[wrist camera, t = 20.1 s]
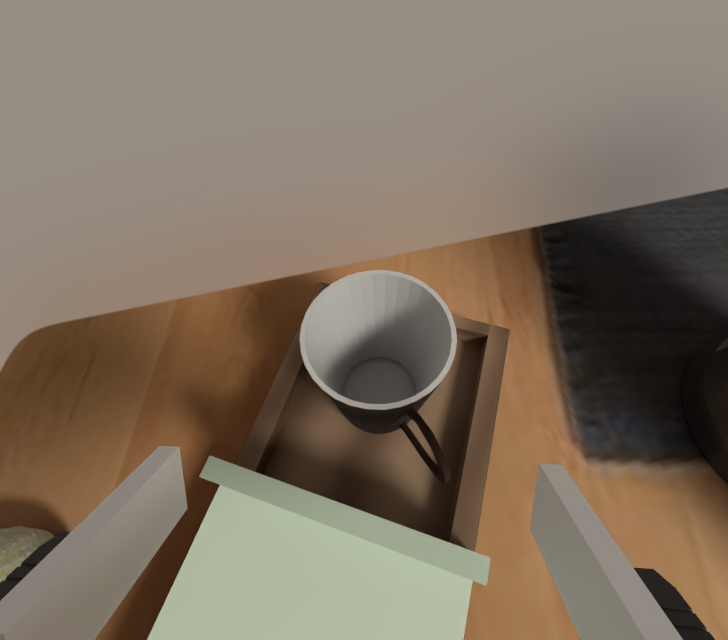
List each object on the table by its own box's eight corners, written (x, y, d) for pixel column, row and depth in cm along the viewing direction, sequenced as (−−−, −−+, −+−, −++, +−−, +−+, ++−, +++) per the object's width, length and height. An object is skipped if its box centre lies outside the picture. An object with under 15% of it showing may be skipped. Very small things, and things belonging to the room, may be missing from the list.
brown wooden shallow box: (496, 351, 33) (509, 329, 29) (407, 866, 19) (413, 939, 16) (325, 306, 36) (319, 282, 32) (143, 723, 22) (98, 758, 19)
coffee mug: (326, 344, 32) (305, 271, 23) (429, 341, 31) (447, 267, 23) (318, 496, 26) (286, 476, 17) (444, 495, 26) (476, 474, 17)
